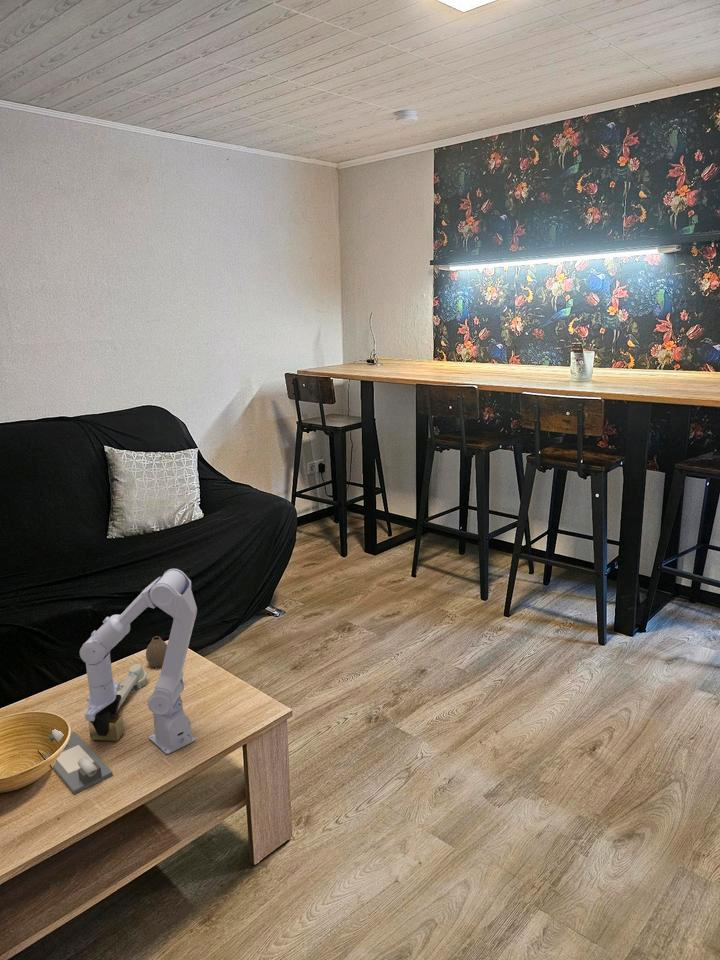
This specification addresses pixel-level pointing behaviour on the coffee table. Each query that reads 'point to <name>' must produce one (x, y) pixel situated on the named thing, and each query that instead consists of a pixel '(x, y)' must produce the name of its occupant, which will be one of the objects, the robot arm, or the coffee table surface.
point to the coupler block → (110, 728)
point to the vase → (156, 652)
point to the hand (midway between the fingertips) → (106, 729)
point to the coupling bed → (75, 775)
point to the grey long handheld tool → (132, 681)
